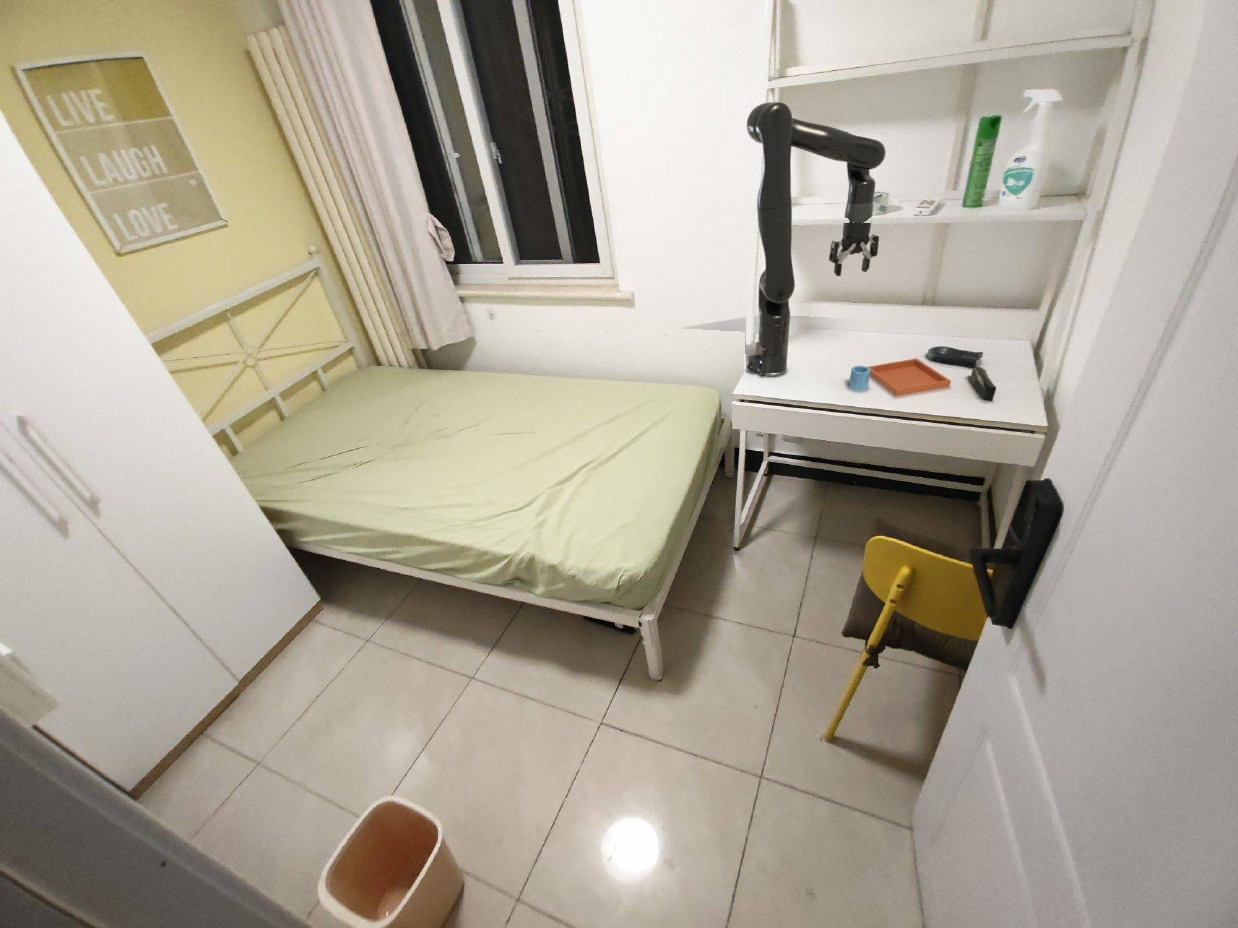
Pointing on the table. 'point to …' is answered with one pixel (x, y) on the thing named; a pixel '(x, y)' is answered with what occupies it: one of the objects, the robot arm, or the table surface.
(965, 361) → the electronic device
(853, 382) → the blue hollow tube
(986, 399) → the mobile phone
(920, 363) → the tray
